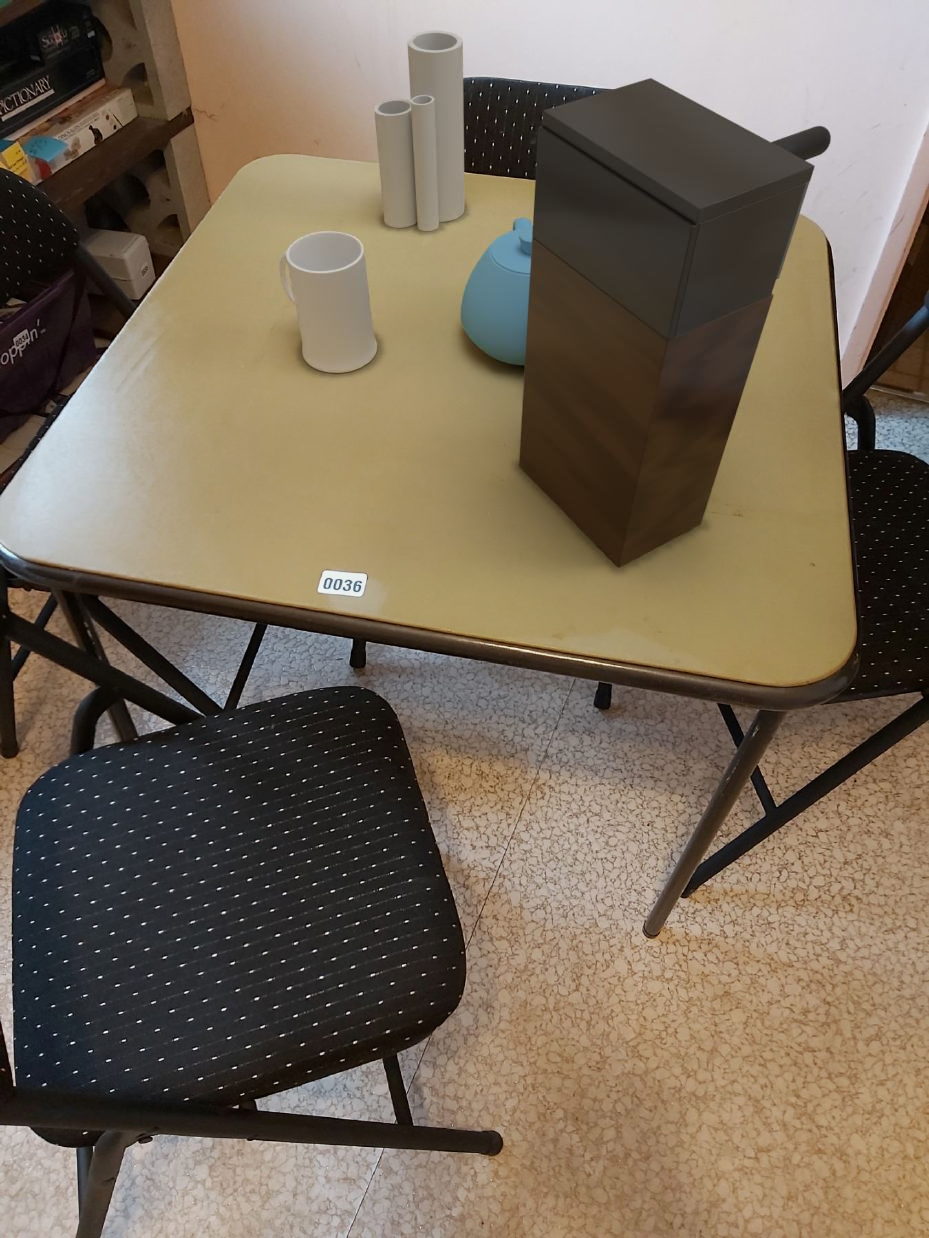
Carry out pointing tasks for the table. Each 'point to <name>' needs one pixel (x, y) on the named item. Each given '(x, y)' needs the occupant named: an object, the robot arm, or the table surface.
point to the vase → (424, 137)
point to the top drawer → (804, 157)
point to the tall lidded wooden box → (646, 305)
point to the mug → (331, 300)
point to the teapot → (501, 296)
